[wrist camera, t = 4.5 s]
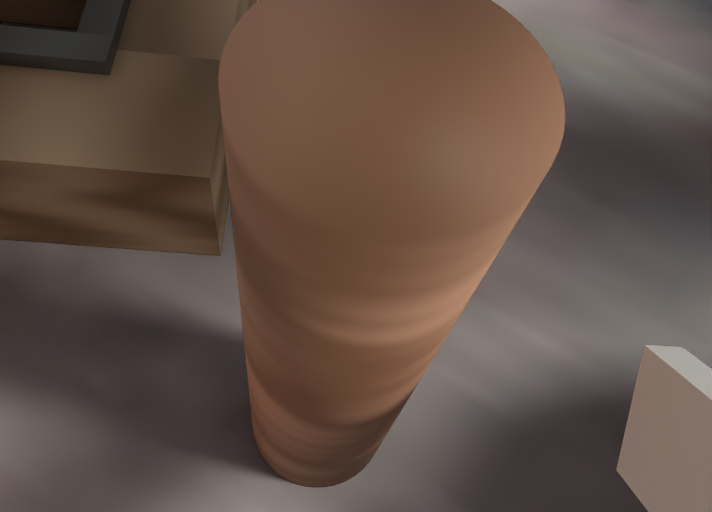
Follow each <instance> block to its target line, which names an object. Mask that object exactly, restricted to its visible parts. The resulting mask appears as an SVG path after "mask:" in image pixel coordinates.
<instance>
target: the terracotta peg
mask: <svg viewBox="0 0 712 512" xmlns="http://www.w3.org/2000/svg"><path fill="white" fill-rule="evenodd" d="M218 86H219V96H220V106H221V116H222V126H223V136H224V146H225V156H226V166H227V176H228V186H229V196H230V206H231V216H232V226H233V236H234V246H235V256H236V266H237V276H238V286H239V296H240V306H241V316H242V327H243V337H244V347H245V357H246V367H247V377H248V387H249V397H250V407H251V417H252V427H253V435H254V439H255V442H256V445H257V448H258V450H259V452H260V454H261V456H262V457H263V459H264V460H265V461H266V463H267V464H268V465H269V466H270V467H271V468H272V469H273V470H274V471H275V472H276V473H277V474H279V475H280V476H281V477H283V478H285V479H287V480H288V481H291V482H293V483H295V484H298V485H302V486H307V487H328V486H333V485H336V484H340V483H342V482H344V481H347V480H349V479H350V478H352V477H353V476H355V475H356V474H358V473H359V472H360V471H361V470H362V469H363V468H364V467H365V466H366V465H367V464H368V463H369V461H370V460H371V459H372V457H373V456H374V454H375V452H376V451H377V449H378V447H379V446H380V444H381V443H382V441H383V439H384V438H385V436H386V434H387V433H388V431H389V430H390V428H391V426H392V425H393V423H394V421H395V420H396V418H397V417H398V415H399V413H400V412H401V410H402V408H403V407H404V405H405V404H406V402H407V400H408V399H409V397H410V395H411V394H412V392H413V390H414V389H415V387H416V386H417V384H418V382H419V381H420V379H421V377H422V376H423V374H424V373H425V371H426V369H427V368H428V366H429V364H430V363H431V361H432V360H433V358H434V356H435V355H436V353H437V351H438V350H439V348H440V347H441V345H442V343H443V342H444V340H445V338H446V337H447V335H448V334H449V332H450V330H451V329H452V327H453V325H454V324H455V322H456V321H457V319H458V317H459V316H460V314H461V312H462V311H463V309H464V307H465V306H466V304H467V303H468V301H469V299H470V298H471V296H472V294H473V293H474V291H475V290H476V288H477V286H478V285H479V283H480V281H481V280H482V278H483V277H484V275H485V273H486V272H487V270H488V268H489V267H490V265H491V264H492V262H493V260H494V259H495V257H496V255H497V254H498V252H499V251H500V249H501V247H502V246H503V244H504V242H505V241H506V239H507V238H508V236H509V234H510V233H511V231H512V229H513V228H514V226H515V224H516V223H517V221H518V220H519V218H520V216H521V215H522V213H523V211H524V210H525V208H526V207H527V205H528V203H529V202H530V200H531V198H532V197H533V195H534V194H535V192H536V190H537V189H538V187H539V185H540V184H541V182H542V181H543V179H544V177H545V176H546V174H547V172H548V171H549V169H550V168H551V166H552V164H553V162H554V160H555V158H556V156H557V153H558V151H559V149H560V146H561V142H562V138H563V134H564V127H565V104H564V96H563V92H562V88H561V84H560V81H559V79H558V76H557V74H556V71H555V69H554V67H553V65H552V63H551V61H550V59H549V58H548V56H547V54H546V53H545V51H544V49H543V48H542V47H541V46H540V44H539V43H538V42H537V40H536V39H535V38H534V36H533V35H532V34H531V33H530V32H529V31H528V30H527V29H526V28H525V27H524V26H523V25H522V24H521V23H520V22H519V21H518V20H517V19H515V18H514V17H513V16H512V15H511V14H509V13H508V12H507V11H506V10H505V9H503V8H502V7H500V6H499V5H497V4H496V3H494V2H493V1H491V0H259V1H257V2H256V3H255V4H254V5H252V7H251V8H250V9H249V10H248V11H247V12H246V13H245V14H244V15H243V16H242V17H241V18H240V20H239V21H238V23H237V24H236V26H235V27H234V28H233V30H232V31H231V33H230V35H229V37H228V40H227V42H226V44H225V46H224V49H223V53H222V56H221V60H220V64H219V76H218Z"/></svg>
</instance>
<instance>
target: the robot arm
mask: <svg viewBox="0 0 712 512" xmlns="http://www.w3.org/2000/svg"><path fill="white" fill-rule="evenodd" d="M616 470H617V472H618V473H619V474H620V476H621V477H622V478H623V479H624V481H625V482H626V483H627V485H628V486H629V487H630V489H631V490H632V491H633V492H634V494H635V495H636V496H637V498H638V499H639V500H640V502H641V503H642V504H643V506H644V507H645V508H646V509H647V511H648V512H712V369H711V368H709V367H708V366H707V365H705V364H704V363H703V362H701V361H700V360H699V359H697V358H696V357H695V356H693V355H692V354H691V353H689V352H688V351H687V350H685V349H684V348H683V347H670V346H654V345H644V349H643V354H642V358H641V363H640V367H639V371H638V376H637V380H636V385H635V389H634V394H633V398H632V402H631V407H630V411H629V416H628V420H627V425H626V429H625V433H624V438H623V442H622V447H621V451H620V456H619V460H618V464H617V469H616Z"/></svg>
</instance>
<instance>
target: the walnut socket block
mask: <svg viewBox="0 0 712 512" xmlns="http://www.w3.org/2000/svg"><path fill="white" fill-rule="evenodd" d="M256 2H257V0H0V23H1V21H5V22H15V23H25V24H34V25H44V26H54V27H64V28H74V29H77V32H68V31H58V30H48V29H38V28H28V27H18V26H9V25H0V239H7V240H20V241H33V242H47V243H60V244H74V245H87V246H100V247H114V248H127V249H141V250H154V251H167V252H181V253H194V254H208V255H221V249H222V242H223V235H224V228H225V221H226V214H227V207H228V200H229V186H228V176H227V166H226V156H225V146H224V136H223V126H222V116H221V106H220V96H219V86H218V76H219V64H220V60H221V56H222V53H223V49H224V46H225V44H226V42H227V40H228V37H229V35H230V33H231V31H232V30H233V28H234V27H235V26H236V24H237V23H238V21H239V20H240V18H241V17H242V16H243V15H244V14H245V13H246V12H247V11H248V10H249V9H250V8H251V7H252V5H254V4H255V3H256Z"/></svg>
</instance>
